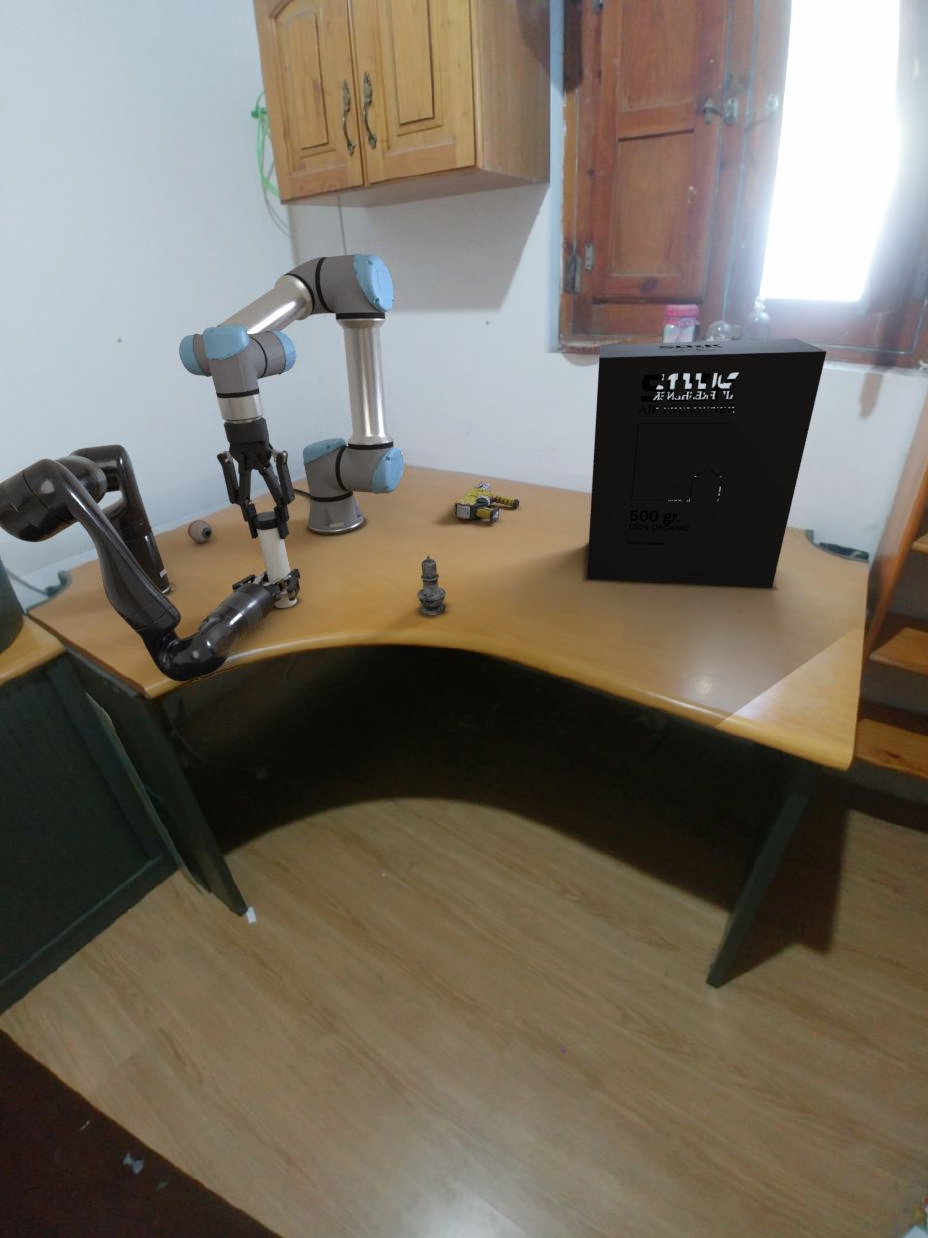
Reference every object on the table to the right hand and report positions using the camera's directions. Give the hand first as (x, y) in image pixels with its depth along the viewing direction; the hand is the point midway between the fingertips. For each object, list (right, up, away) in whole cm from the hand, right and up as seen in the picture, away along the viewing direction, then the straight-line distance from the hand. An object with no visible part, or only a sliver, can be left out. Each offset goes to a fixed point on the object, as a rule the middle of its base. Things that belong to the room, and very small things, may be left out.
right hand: (270, 536), depth 123 cm
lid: (0, +3, -2) cm, 4 cm away
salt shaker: (+33, -15, +2) cm, 36 cm away
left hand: (+1, -7, +7) cm, 10 cm away
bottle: (+1, -13, +8) cm, 15 cm away
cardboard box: (+87, -4, +14) cm, 88 cm away
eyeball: (-31, +4, +41) cm, 52 cm away
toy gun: (+47, +15, +51) cm, 71 cm away
